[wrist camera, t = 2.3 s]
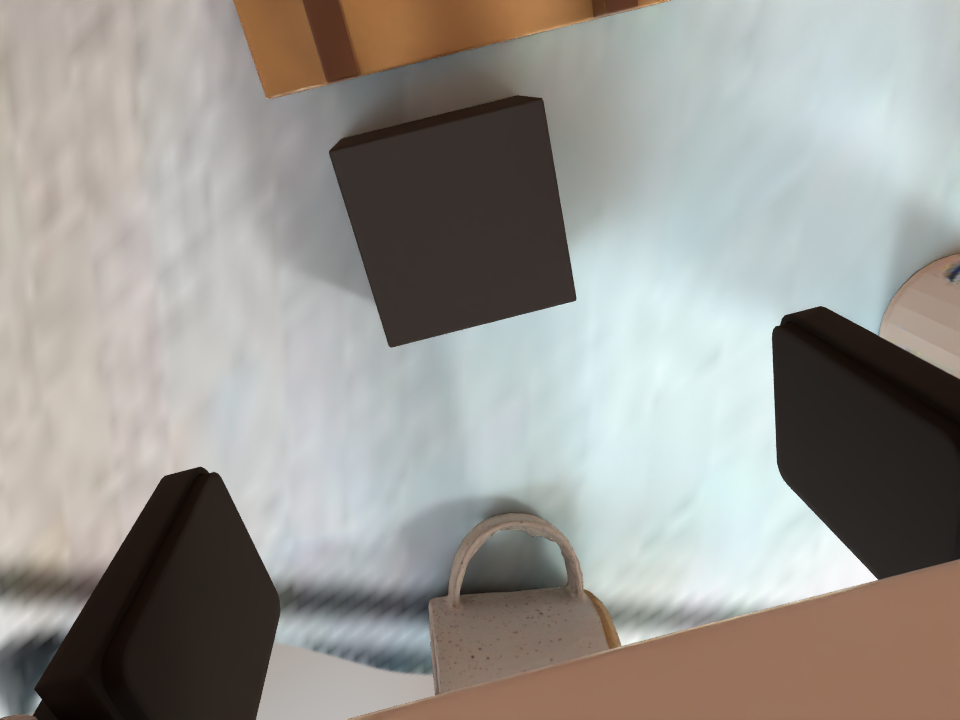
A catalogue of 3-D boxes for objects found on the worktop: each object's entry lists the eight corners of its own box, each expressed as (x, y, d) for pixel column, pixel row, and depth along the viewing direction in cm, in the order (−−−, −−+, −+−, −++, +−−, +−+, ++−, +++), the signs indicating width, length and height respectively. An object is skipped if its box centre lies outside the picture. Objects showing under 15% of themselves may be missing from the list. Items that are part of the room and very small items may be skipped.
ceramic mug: (587, 660, 34) (638, 809, 27) (434, 680, 33) (444, 839, 26) (592, 493, 30) (653, 616, 23) (417, 512, 29) (424, 645, 22)
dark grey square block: (390, 309, 25) (389, 349, 21) (339, 139, 22) (328, 150, 19) (551, 269, 25) (577, 301, 21) (519, 94, 22) (543, 97, 19)
